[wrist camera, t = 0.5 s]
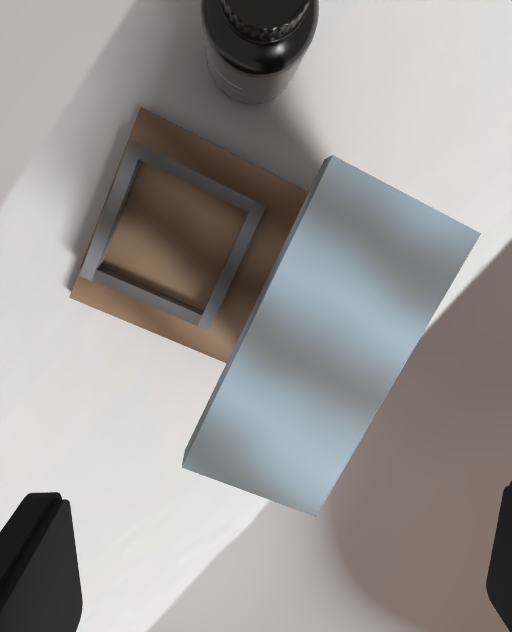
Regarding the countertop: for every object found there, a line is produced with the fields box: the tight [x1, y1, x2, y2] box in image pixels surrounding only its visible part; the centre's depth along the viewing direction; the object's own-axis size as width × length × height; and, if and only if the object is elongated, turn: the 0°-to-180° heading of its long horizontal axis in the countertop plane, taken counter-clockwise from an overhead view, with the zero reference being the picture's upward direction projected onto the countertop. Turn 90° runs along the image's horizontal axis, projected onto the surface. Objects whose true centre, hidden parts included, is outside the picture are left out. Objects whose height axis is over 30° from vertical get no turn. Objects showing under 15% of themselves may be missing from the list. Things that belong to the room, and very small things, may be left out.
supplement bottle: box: [201, 0, 319, 104], centre depth 26 cm, size 7×7×12 cm
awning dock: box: [70, 108, 481, 516], centre depth 27 cm, size 16×20×18 cm
